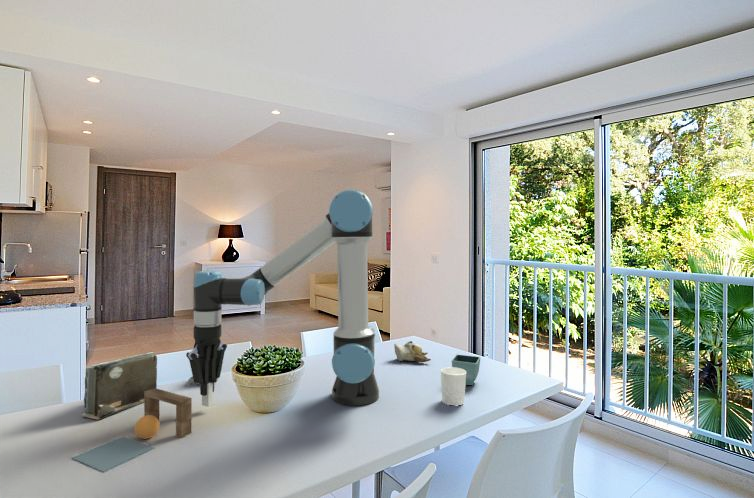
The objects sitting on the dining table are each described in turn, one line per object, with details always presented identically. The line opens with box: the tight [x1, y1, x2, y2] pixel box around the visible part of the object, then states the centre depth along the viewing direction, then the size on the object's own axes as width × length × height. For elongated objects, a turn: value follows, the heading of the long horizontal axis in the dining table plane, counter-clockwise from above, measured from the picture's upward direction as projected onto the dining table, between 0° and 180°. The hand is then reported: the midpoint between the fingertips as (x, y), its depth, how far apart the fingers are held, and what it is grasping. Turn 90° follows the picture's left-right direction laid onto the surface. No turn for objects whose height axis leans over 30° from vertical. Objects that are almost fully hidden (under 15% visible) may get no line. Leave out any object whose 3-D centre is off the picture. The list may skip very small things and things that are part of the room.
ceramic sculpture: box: [393, 340, 431, 363], centre depth 178 cm, size 11×9×15 cm
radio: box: [81, 351, 158, 420], centre depth 128 cm, size 23×9×15 cm, turn 155°
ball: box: [134, 415, 160, 440], centre depth 107 cm, size 6×6×6 cm
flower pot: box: [451, 354, 481, 386], centre depth 151 cm, size 9×9×9 cm
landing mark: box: [71, 435, 155, 473], centre depth 100 cm, size 12×12×1 cm
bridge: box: [143, 387, 193, 439], centre depth 112 cm, size 3×14×9 cm, turn 63°
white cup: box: [440, 366, 466, 406], centre depth 134 cm, size 8×8×10 cm
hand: (207, 404), depth 124 cm, fingers closed
